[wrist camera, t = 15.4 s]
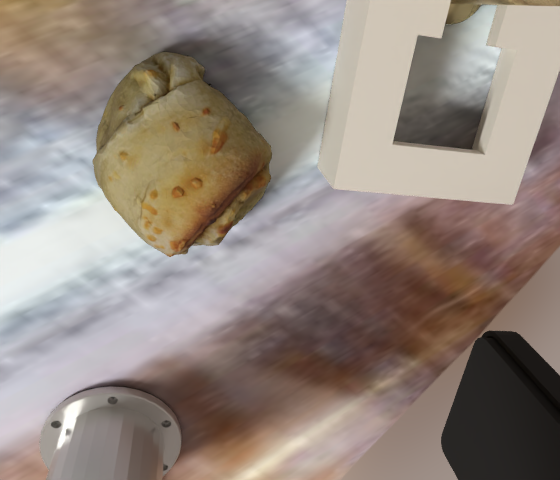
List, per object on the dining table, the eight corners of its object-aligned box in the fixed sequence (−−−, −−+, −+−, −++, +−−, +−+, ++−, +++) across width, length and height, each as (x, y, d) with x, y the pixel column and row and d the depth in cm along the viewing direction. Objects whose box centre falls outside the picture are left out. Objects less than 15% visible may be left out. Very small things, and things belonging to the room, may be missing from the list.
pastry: (250, 246, 43) (262, 297, 35) (92, 227, 40) (70, 278, 33) (285, 72, 37) (307, 90, 30) (105, 36, 34) (82, 47, 27)
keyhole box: (478, 182, 43) (512, 204, 38) (317, 166, 40) (333, 188, 36) (565, -97, 35) (622, -111, 30) (371, -140, 32) (401, -163, 28)
